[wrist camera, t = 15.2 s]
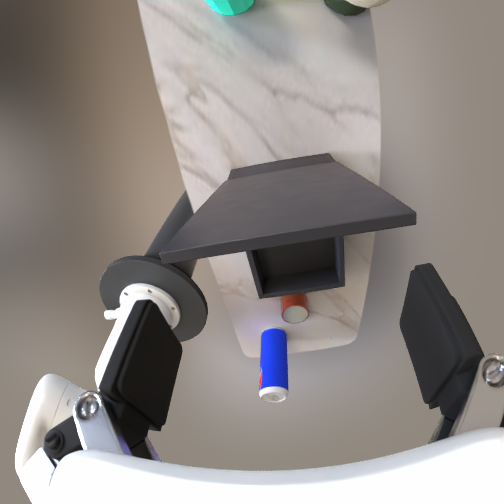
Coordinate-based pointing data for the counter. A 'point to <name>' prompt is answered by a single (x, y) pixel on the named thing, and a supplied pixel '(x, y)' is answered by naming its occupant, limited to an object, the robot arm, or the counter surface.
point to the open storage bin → (295, 249)
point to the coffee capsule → (294, 308)
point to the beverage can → (273, 366)
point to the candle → (230, 6)
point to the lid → (286, 212)
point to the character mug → (352, 5)
